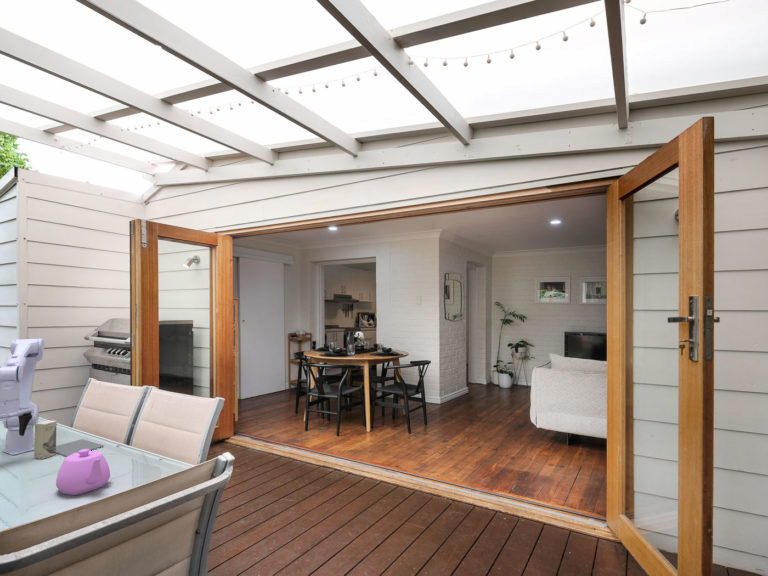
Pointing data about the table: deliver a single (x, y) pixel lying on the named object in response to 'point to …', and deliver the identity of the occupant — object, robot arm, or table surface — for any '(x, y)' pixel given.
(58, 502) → the table surface
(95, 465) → the teapot
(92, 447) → the mat
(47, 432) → the box
